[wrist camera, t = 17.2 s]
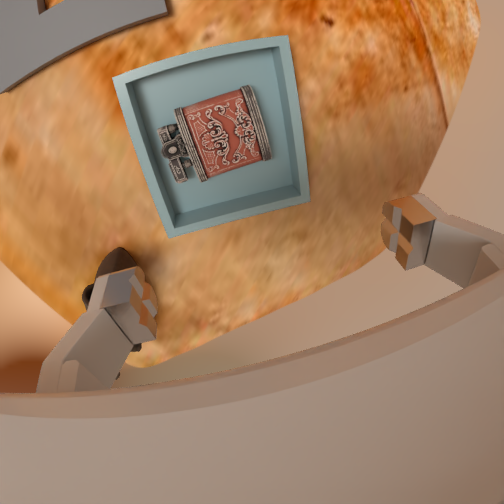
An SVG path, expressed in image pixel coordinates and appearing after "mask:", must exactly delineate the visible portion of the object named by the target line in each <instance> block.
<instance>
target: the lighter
mask: <svg viewBox="0 0 504 504" xmlns="http://www.w3.org/2000/svg"><path fill="white" fill-rule="evenodd" d="M174 115H175V118H176V121H177V123H176V124H170V125H166V126H163V127H161V128H158V129H157V132H158V135H159V137H160V140H161V142H162V145H163V146H162V148H161V154H162V156H163V157H164V158H166V159H168V160H169V164H168V165H169V167H170V170H171V172H172V175H173V177H174V179H175V182H176V183H179V184H180V183H183V182H186V181H188V176H187V174H186V171H185V169H184V168H189V167H191V166H193V167H194V169H195V171H196V174H197V176H198V179H199V181H200V182H201V183H202V182H205V181H207V180H208V178H211V177H214V176H216V175H219V174H222V173H225V172H228V171H231V170H234V169H237V168H240V167H243V166H246V165H249V164H252V163H255V162H258V161H261V160H262V161H263V162H264V161H267V160H270V159H272V155H271V150H270V146H269V142H268V138H267V135H266V131H265V127H264V124H263V120H262V117H261V114H260V111H259V108H258V105H257V102H256V99H255V96H254V93H253V90H252V88H251V86H250V85H245V86H242V87H240V89H238V90H234V91H231V92H228V93H225V94H221V95H218V96H215V97H212V98H209V99H206V100H203V101H200V102H197V103H195V104H192V105H189V106H186V107H184V108H182V107H179V108H176V109H174ZM176 130H180V132H178V133H177V135H176V136H175V137H173V138H172V136H171V134H172V133H174V132H175V131H176ZM181 156H183V157H188V156H189V157H190V159H188V160H185V161H184V162H182V161H181V159H180V157H181Z"/></svg>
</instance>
